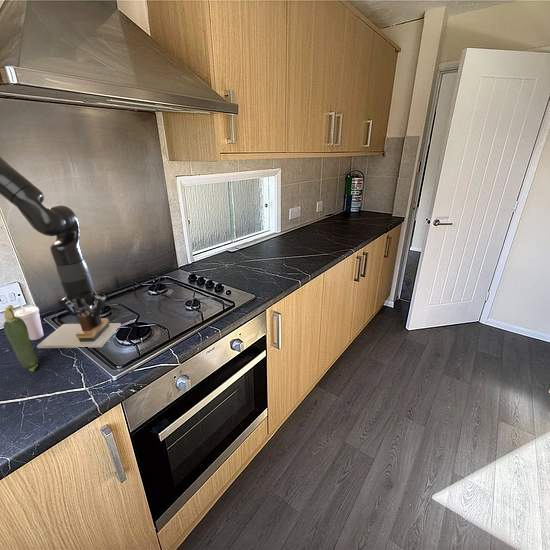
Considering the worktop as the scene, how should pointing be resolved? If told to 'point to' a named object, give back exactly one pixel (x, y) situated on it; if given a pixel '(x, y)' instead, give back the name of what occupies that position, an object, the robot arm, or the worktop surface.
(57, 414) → the worktop surface
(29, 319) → the smoothie
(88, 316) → the brush
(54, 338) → the tile
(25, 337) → the vegetable
